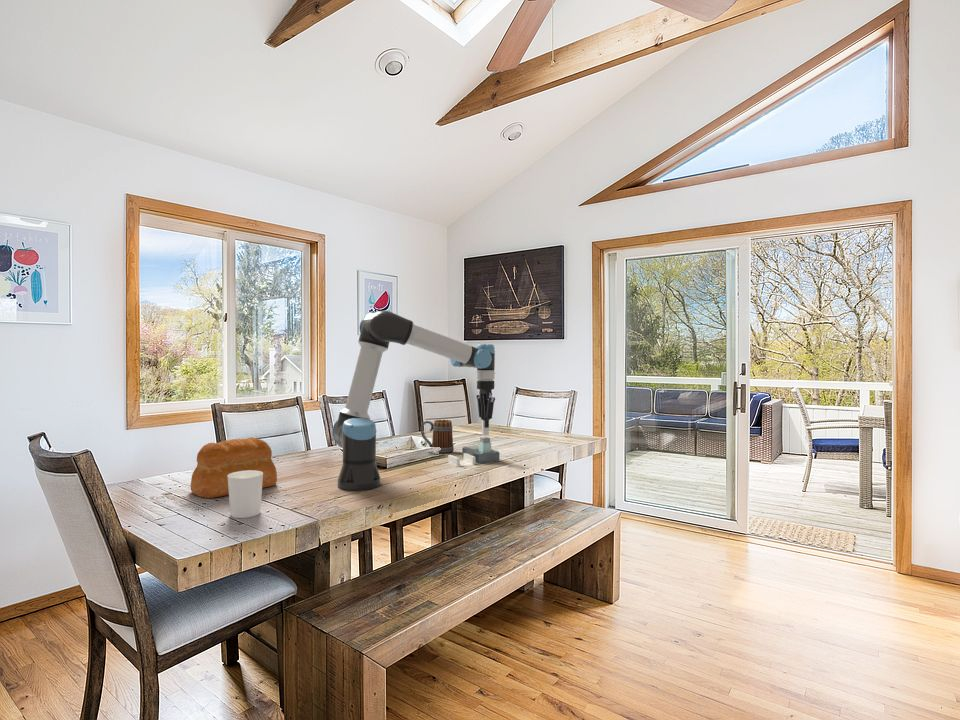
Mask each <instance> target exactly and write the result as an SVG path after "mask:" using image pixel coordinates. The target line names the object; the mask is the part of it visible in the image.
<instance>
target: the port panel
mask: <svg viewBox="0 0 960 720" xmlns="http://www.w3.org/2000/svg"><path fill="white" fill-rule="evenodd" d="M461 451H462V453H461V456H462V458H464V453H467V454H469V455H472V456H474V457H475V464H478V465H480V464H488V463H489V464H490V463H499V462H500V452H499V450H496V449H495V450H494V449H493V448H491V452H490V453H480V452H479V445H475V446H474V445H472V446H464V447H462V450H461Z"/></svg>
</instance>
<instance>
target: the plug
mask: <svg viewBox="0 0 960 720" xmlns="http://www.w3.org/2000/svg"><path fill="white" fill-rule="evenodd" d="M478 446H479V452H480V453H490V452H491V449H492V442H491V437H488V436H480V437H479V441H478Z"/></svg>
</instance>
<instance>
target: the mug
mask: <svg viewBox="0 0 960 720" xmlns="http://www.w3.org/2000/svg"><path fill="white" fill-rule="evenodd" d="M426 424H429V426H430V429H429V432H432V439H431V440H432V441H430V440H429V439H428V438H427V436H426V434H425V431H424V427H425V425H426ZM420 432H421V433H420V434H421V437H422V439H423V440H424V441H425V442H426V443H427V445H428V446H429V447H440V448H441V450H440V452H439V456H440V455H452V454H453V453H454V450H455V449H454V440H453V438H454V437H453V424H452V420H449V419H436V420H434V421H431V420H425V421H424V422H422V423H421V425H420ZM429 447H428V448H429Z"/></svg>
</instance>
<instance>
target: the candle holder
mask: <svg viewBox="0 0 960 720" xmlns="http://www.w3.org/2000/svg"><path fill="white" fill-rule="evenodd" d="M227 478H228V491H229V495H228V502H229V503H228V504H229V513H230V514H229V516H230V517H231V518H234V519H248V518H252V517H256V516H259V514H261V512H262V511H261V509H262V498H263V497H262V496H263V495H262V494H263V488H262V481H263V472H261V471H256V470H246V471H238V472H233V473H230V474H228V475H227Z"/></svg>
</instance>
